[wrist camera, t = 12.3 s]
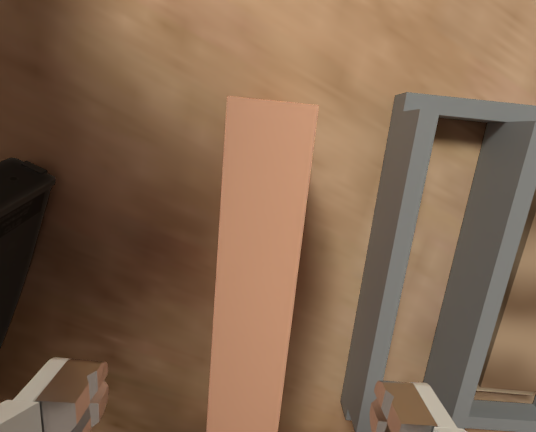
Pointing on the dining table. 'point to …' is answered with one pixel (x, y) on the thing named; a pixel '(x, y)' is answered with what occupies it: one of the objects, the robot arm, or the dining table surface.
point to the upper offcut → (516, 322)
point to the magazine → (19, 228)
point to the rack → (464, 263)
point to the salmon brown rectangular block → (258, 259)
